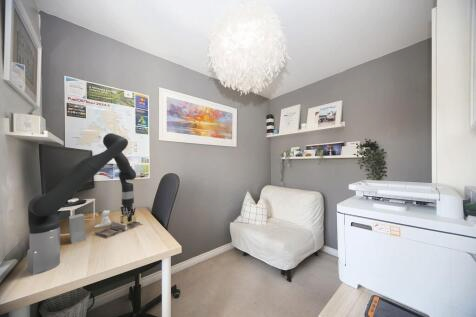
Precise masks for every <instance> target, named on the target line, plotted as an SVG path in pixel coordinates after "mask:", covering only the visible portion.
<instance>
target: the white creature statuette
mask: <svg viewBox="0 0 476 317" xmlns="http://www.w3.org/2000/svg"><path fill="white" fill-rule="evenodd" d="M109 213H111V211H110V210H107V209H105V210H103V211H102V213H101V215H100V216H101V219H100V220H101V221H100V222H99V224H96V225H94V228H101V227H107V226H110V225H112V221H111V219H110V217H109Z"/></svg>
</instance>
